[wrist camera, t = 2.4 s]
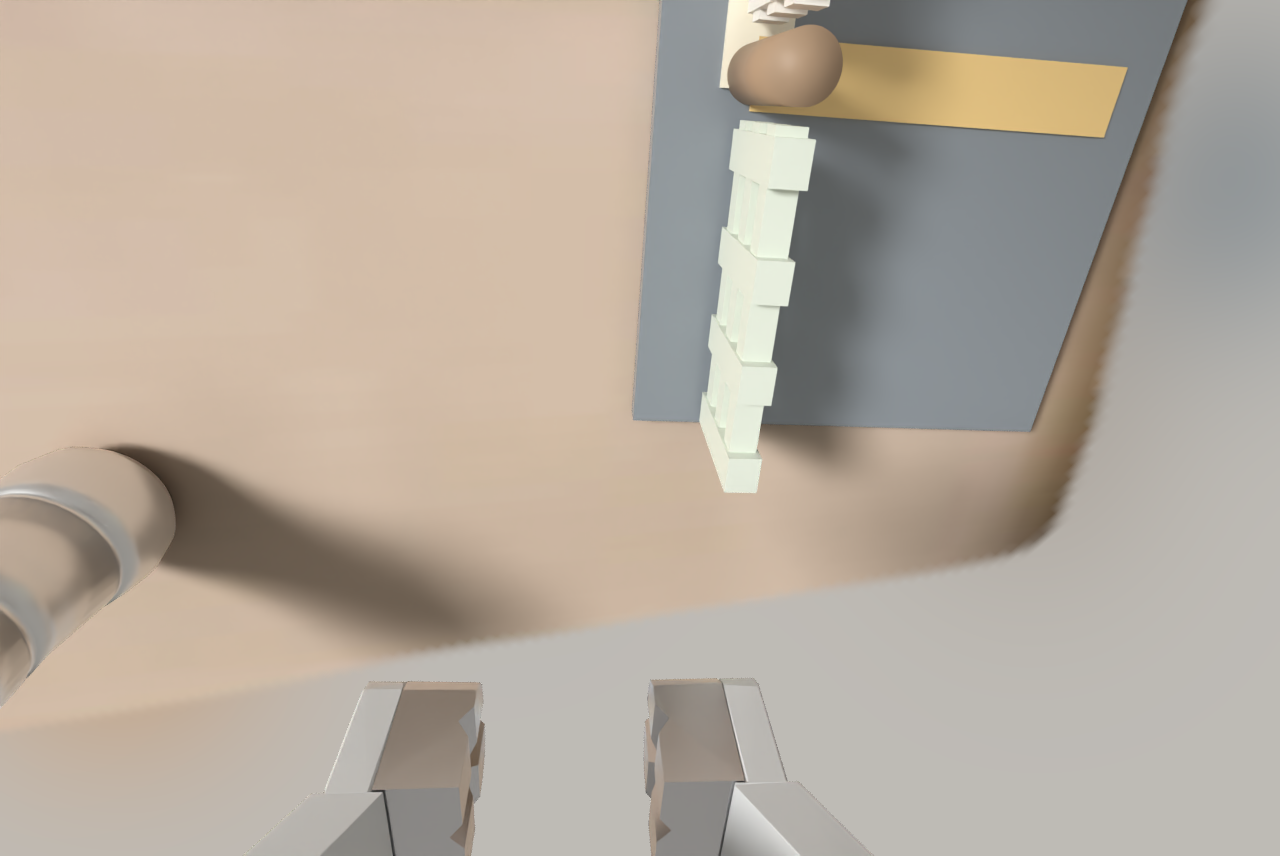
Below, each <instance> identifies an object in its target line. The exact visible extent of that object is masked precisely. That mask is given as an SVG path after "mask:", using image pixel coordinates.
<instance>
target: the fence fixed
mask: <svg viewBox="0 0 1280 856" xmlns="http://www.w3.org/2000/svg"><path fill="white" fill-rule="evenodd" d="M829 5H830V0H749V3H748V11H747V13H749V14H753V19H752V22H754V23H766V24H777V25H782V24H785V23H787V22H789V19H790V18H800V17H803V16H806V15H807V14H808V10H813V11H819V10H822V9H824V8H827V7H829ZM842 67H843V56H842V50H841V47H840V44H839V42H838V40H837V39H836V37H835V36H834V35H833V34H832V33H831V32H830V31H829V30H827V29H826V28H824V27H822V26H819V25H803V26H800V27H797V28H794V29H791V30H788V31H785V32H782V33H779V34H776V35H773V36H770V37H767V38H764V39H761V40H758V41H755V42H752V43H749V44H747V45H745V46H743V47H741V48H740V49H739V50H738V51H737V52H736V53H735V54H734V56H733V57H732V59H731V61H730V63H729V67H728V71H727V81H728V86H729V91H730V93H731V94H732V96H733V97H734V98H735V99H736V100H737V101H739V102H741V103H743V104H746V105H756V106H780V107H811V106H814V105H816V104H819V103H820V102H822V101H823V100H825V99H826V98H827V97H828V96H829V95H830V94H831V93H832V92H833V90H834V89H835V87H836V86H837V84H838V82H839V79H840V76H841V73H842Z"/></svg>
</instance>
